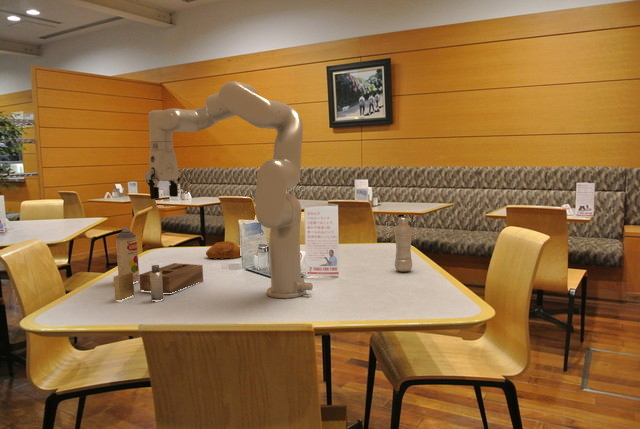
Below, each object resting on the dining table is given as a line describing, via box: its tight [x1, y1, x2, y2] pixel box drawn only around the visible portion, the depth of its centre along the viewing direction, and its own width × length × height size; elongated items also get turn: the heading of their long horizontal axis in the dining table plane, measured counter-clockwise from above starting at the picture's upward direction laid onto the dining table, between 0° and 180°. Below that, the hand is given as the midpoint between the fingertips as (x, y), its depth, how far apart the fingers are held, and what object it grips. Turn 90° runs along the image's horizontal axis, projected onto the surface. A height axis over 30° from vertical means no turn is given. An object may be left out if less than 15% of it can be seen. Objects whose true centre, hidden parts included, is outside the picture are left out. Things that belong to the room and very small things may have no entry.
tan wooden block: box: [113, 272, 135, 300], centre depth 155 cm, size 2×6×8 cm, turn 158°
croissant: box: [205, 241, 241, 260], centre depth 219 cm, size 14×16×8 cm
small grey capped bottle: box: [150, 264, 165, 300], centre depth 153 cm, size 4×4×11 cm
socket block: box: [139, 262, 204, 293], centre depth 169 cm, size 12×18×6 cm, turn 158°
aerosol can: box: [115, 226, 140, 282], centre depth 175 cm, size 7×7×20 cm
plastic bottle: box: [394, 216, 413, 273], centre depth 182 cm, size 6×7×20 cm
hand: (164, 197), depth 171 cm, fingers open, 9 cm apart
